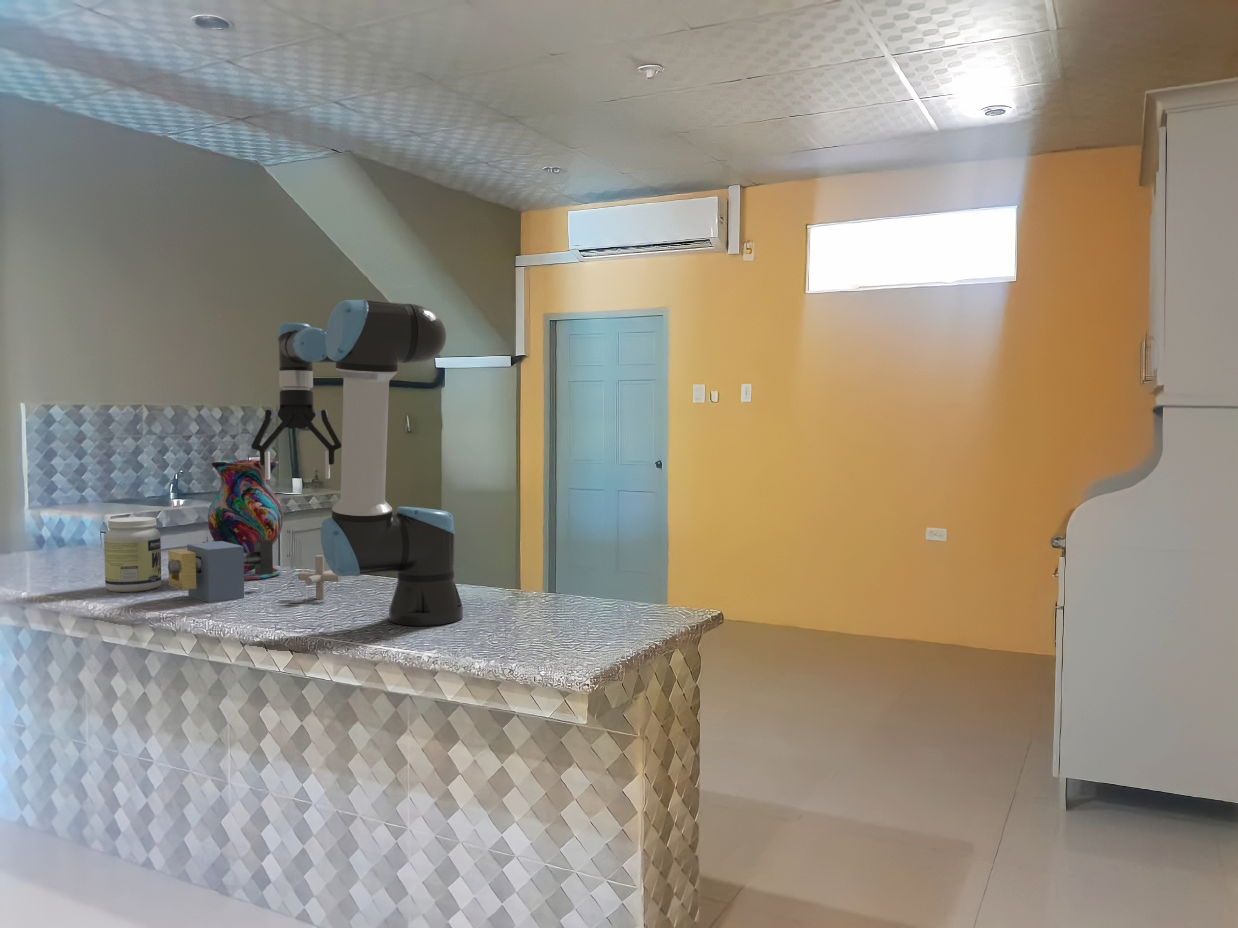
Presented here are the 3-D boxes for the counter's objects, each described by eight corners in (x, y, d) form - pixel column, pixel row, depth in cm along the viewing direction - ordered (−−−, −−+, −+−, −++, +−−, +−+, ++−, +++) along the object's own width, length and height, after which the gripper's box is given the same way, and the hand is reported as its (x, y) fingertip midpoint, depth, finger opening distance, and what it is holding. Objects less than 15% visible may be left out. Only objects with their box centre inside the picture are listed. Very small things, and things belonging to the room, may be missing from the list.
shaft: (272, 573, 225) (272, 540, 224) (173, 585, 208) (172, 550, 208) (267, 572, 227) (266, 539, 226) (168, 584, 211) (167, 548, 210)
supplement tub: (159, 591, 223) (158, 520, 222) (101, 594, 219) (99, 522, 218) (163, 582, 234) (162, 515, 233) (108, 585, 230) (107, 517, 229)
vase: (240, 584, 232) (238, 464, 230) (193, 577, 241) (190, 461, 239) (299, 573, 248) (297, 461, 246) (253, 567, 257) (251, 458, 255)
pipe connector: (329, 604, 209) (328, 559, 208) (288, 602, 211) (287, 558, 210) (350, 595, 219) (350, 553, 218) (311, 593, 221) (311, 551, 220)
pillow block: (244, 597, 215) (243, 546, 215) (209, 602, 210) (208, 549, 209) (222, 590, 224) (221, 540, 223) (188, 595, 218) (187, 544, 217)
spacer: (196, 588, 210) (195, 552, 209) (182, 589, 207) (181, 554, 207) (182, 583, 215) (181, 549, 215) (168, 585, 213) (168, 550, 213)
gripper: (352, 390, 227) (353, 477, 228) (243, 389, 222) (245, 478, 223) (349, 389, 220) (351, 479, 221) (237, 388, 215) (239, 480, 216)
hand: (297, 479), depth 222 cm, fingers open, 13 cm apart
